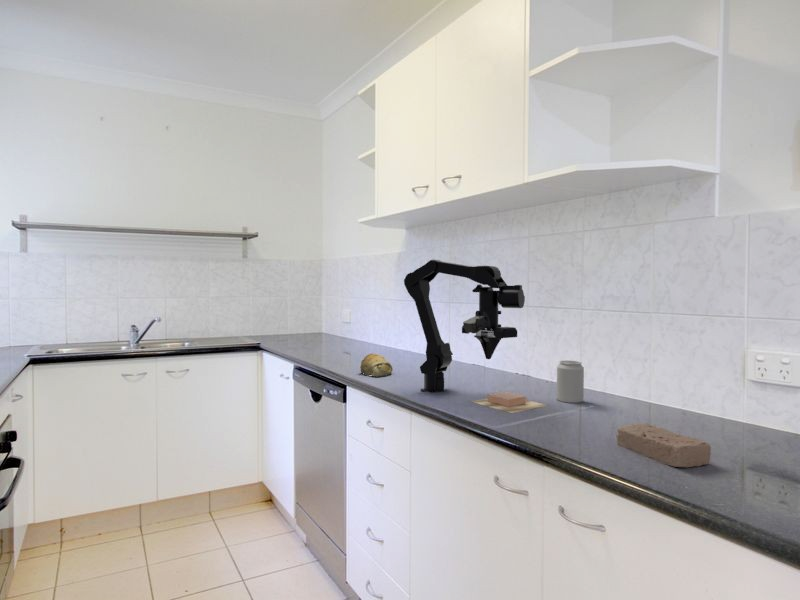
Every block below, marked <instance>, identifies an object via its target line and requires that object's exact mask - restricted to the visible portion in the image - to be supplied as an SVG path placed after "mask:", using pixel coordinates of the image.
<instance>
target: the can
mask: <svg viewBox="0 0 800 600" xmlns="http://www.w3.org/2000/svg"><path fill="white" fill-rule="evenodd" d="M584 369H585V367H584V366H583V365H582V362H581V361H578V360H559V364H558V365H557V366H556V399H557V400H558V401H560V402H562V403H569V404H578V403H582V402H584V387H585V386H584V381H585V380H584V379H585V378H584V377H585V375H584V374H585V373H584V372H585V371H584Z"/></svg>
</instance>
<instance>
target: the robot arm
mask: <svg viewBox="0 0 800 600" xmlns="http://www.w3.org/2000/svg"><path fill="white" fill-rule="evenodd" d="M438 274H444V275H445V274H446V275H450V276H454V277H461V278H467V279H469V280H470V281H473V282H475V283H477V285H476V287H475V288H473V289H472V293H478V298H479V299H478V310H476V311H475V313H474V314H475V316H472V317H470V318H468V319H467V320H465V321H462V323H463V325H462V327H461V334H467V335H469V334H470V333H471V334H475V335H474V336H473V337H474V338H476V339H477V340H478V341H479V342H480V344H481V347H482V350H483V353H484V356H485V359H486V360H491V358H492V357H493V354H494V352H495V351H496V348H497V347H498V346H499V345H498V344H500V341H502V339H508V338H509V339H510V338H518V330H517V328H516V327H512V326H502V324H499V315H502V310H499V306H501V307H502V308H504V309H523V308H524V306H525V299H526V297H525V293H524V290H523V284H515V285H514V284H513V285H508V284H507V283H506V281H505V280H504V278H503V277H502V273H501V271H500V269H499V268H498V267H497V266H493V265H464V264H459V263H454V262H447V261H442V260H439V259H430V260H428V261H427V262H426V263H425V264H424V265H422V266H420V267H419V268H416V269H415V270H414V271H413V272H409V273H407V274H406V275H405V278H404V280H403V285H404V287H405V288H406V291H407V294H409V296H410V297H411V299H413V301H414V303H415V306H416V310H417V314H418V317H419V320H420V323H421V327H422V330H423V334H424V338H425V341H426V347H425V348H426V349H425V356H426V360H424V362H423V363H422V364H421V365H420V366H419V369H420V372H421V374H423V377H424V381H423V382H424V384H423V385H424V386H423V387H424V388H420V390H419V391H421V392H425V393H426V392H428V393H431V394H432V393H440V392H445V391H446V392H447V391H448V389H445V373H444V372H446V371H447V370H448V367H449V366H450V364H451V363H452V362H453V355H454V353H453V352H452V349H451V344H450V342H445V341H444V340H443V339H442V338H441V334H440V331H439V327H438V324H437V321H436V317H435V313H434V311H433V307H432V303H431V300H430V290H431V285H430V283H431V282H432V281H433V280H434V279H435V278H436V277H437V275H438ZM483 285H484V286H483ZM494 289H499V290H494Z"/></svg>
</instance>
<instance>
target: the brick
mask: <svg viewBox="0 0 800 600" xmlns="http://www.w3.org/2000/svg"><path fill="white" fill-rule="evenodd" d="M616 430H617V435H616V444H617V445H618V446H620V447H623V448H625V449H627V450H631V451H633V452H635V453H636V454H640V455H642V456H645V457H648V458H650V459H652V460H654V461H657V462H660V463H662V464H664V465H668V466H670V467H675V468H677V467H678V468H693V467H701V466H705V465H709V464H710V460H711V455H712V452H711V450H712V449H711V445H710V443H709V442H706V441H704V440H700V439H698V438H696V437H690V436H687V435H680V434H678V433H676V432H674V431H670V430H668V429H665V428H663V427H659V426H656V425H652V424H649V423H643V422H642V423H641V422H638V423H634V424H633V423H632V424H631V423H630V424H625V425H619V426H618V427H617V429H616Z"/></svg>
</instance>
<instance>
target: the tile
mask: <svg viewBox="0 0 800 600" xmlns="http://www.w3.org/2000/svg"><path fill="white" fill-rule="evenodd" d="M487 398H488V401H489V402H492V403H495V404H499V405H503V406H506V407H511V406H517V405H522V404H526V400H527V396H526V395H522V394H517V393H513V392H509V391H500V392H494V393H488V394H487Z"/></svg>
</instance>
